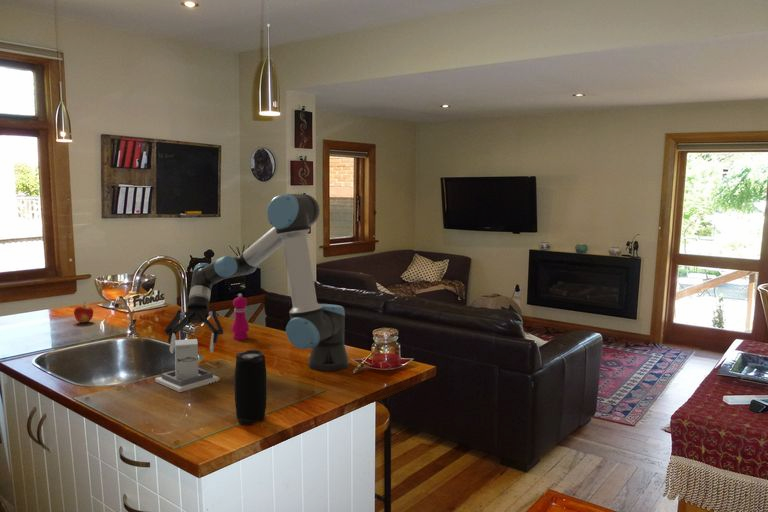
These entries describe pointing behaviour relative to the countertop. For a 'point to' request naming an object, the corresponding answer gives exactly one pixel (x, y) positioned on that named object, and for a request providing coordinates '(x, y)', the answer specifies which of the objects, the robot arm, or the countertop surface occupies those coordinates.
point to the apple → (83, 313)
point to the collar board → (183, 385)
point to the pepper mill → (240, 319)
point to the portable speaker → (250, 386)
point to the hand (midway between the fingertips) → (191, 351)
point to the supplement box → (186, 359)
